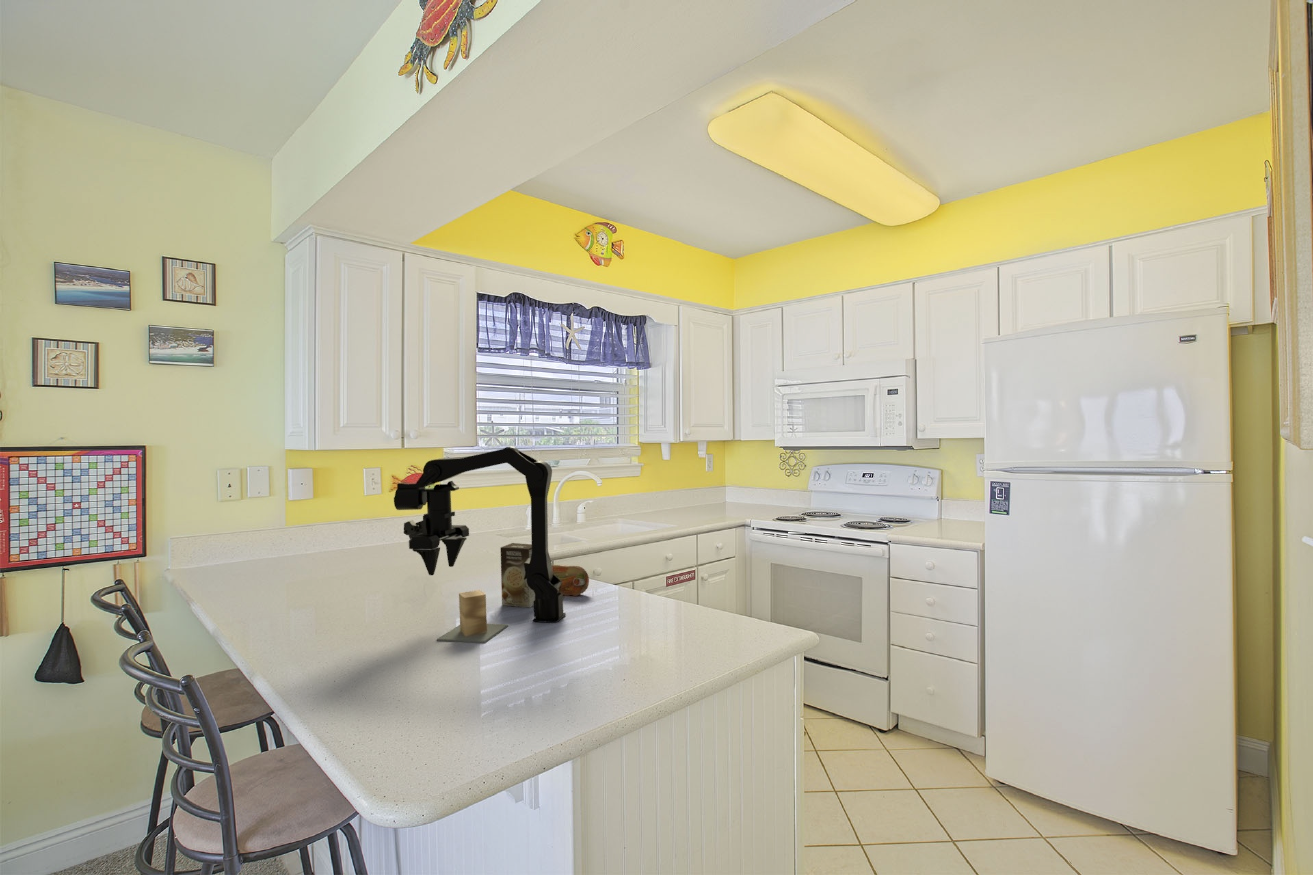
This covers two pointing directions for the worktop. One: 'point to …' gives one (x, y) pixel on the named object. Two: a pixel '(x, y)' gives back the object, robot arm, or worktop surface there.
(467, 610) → the oak block
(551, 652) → the worktop surface
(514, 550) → the coffee box
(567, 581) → the tin
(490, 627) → the slate mat
